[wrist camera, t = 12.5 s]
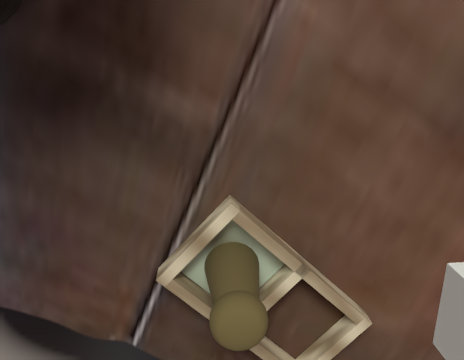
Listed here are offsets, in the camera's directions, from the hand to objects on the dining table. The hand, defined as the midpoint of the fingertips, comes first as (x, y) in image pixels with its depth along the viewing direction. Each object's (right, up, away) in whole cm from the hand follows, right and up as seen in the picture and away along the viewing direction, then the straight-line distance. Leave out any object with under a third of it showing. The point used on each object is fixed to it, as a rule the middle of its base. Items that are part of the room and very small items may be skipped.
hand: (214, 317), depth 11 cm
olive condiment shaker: (0, -6, +33) cm, 34 cm away
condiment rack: (+4, -9, +35) cm, 36 cm away
